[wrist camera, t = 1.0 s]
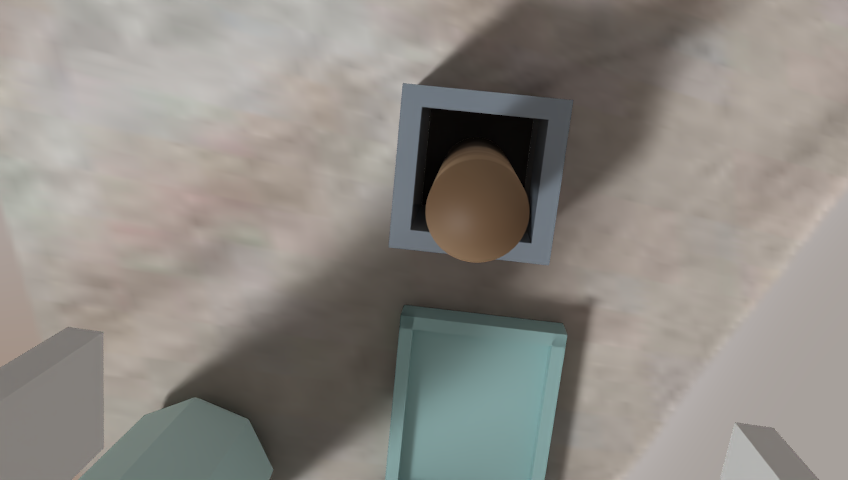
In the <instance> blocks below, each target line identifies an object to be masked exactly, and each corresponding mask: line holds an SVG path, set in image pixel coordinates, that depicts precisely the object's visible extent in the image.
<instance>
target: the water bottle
mask: <svg viewBox="0 0 848 480" xmlns="http://www.w3.org/2000/svg"><path fill="white" fill-rule="evenodd" d="M272 472H273V468H272V466H271V464H270V462H269V460H268V458H267V456H266V454H265V452H264V449H263V447H262V445H261V443H260V441H259V439H258V437H257V435H256V433H255V431H254V429H253V427H252V425H251V423H250V421H249V420H248V419H247V418H245V417H242V416H240V415H238V414H235V413H233V412H231V411H228V410H226V409H224V408H221V407H219V406H216V405H214V404H212V403H209V402H207V401H205V400H202V399H199V398H196V397H194V398H191V399H188V400H186V401H183V402H180V403H177V404H174V405H172V406H169V407H166V408H163V409H161V410H158V411H155V412H152V413H149V414H147V415H144V416H143V417H142V418H141V419H140V420H139V421H138V422H137V423H136V424H135V425H134V426H133V427H132V428H131V429H130V430H129V431H128V432H127V433H126V434H125V435H124V436H123V437H122V438H121V439H119V440H118V441H117V442H116V443H115V444H114V445H113V446H112V447H111V448H110V449H109V450H108V451H107V452H106V453H105V454H104V455H103V456H102V457H101V458H100V459H99V460H98V461H97V462H96V463H95V464H94V465H93V466H92V467H91V468H90V469H89V470H88V471H87V472H86V473H85V474H84V475H83V476H82V477H80V478H79V479H78V480H269V479H270V477H271V475H272Z"/></svg>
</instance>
